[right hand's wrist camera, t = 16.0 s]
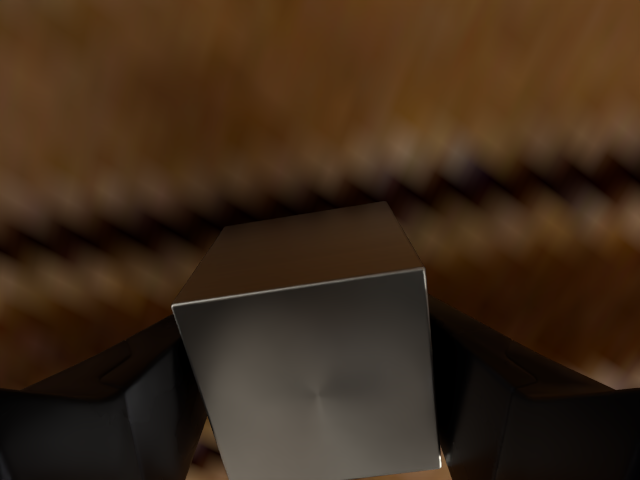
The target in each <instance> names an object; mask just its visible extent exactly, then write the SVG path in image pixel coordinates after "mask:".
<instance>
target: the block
mask: <svg viewBox="0 0 640 480" xmlns="http://www.w3.org/2000/svg"><path fill="white" fill-rule="evenodd" d="M171 307H172V310H173V313H174V316H175V319H176V322H177V325H178V328H179V331H180V334H181V337H182V340H183V343H184V346H185V349H186V352H187V355H188V358H189V361H190V365H191V368H192V371H193V374H194V377H195V380H196V383H197V386H198V389H199V392H200V395H201V398H202V401H203V404H204V407H205V410H206V413H207V416H208V419H209V422H210V425H211V428H212V431H213V434H214V437H215V440H216V443H217V446H218V449H219V452H220V455H221V458H222V461H223V464H224V467H225V470H226V473H227V476H228V479H229V480H349V479H357V478H366V477H374V476H382V475H391V474H399V473H407V472H416V471H424V470H432V469H439V468H441V465H442V463H441V451H440V438H439V426H438V414H437V402H436V390H435V377H434V365H433V353H432V341H431V329H430V316H429V304H428V292H427V280H426V269H425V267H424V265H423V264H422V262H421V260H420V258H419V257H418V255H417V253H416V251H415V250H414V248H413V246H412V245H411V243H410V241H409V239H408V238H407V236H406V234H405V233H404V231H403V229H402V227H401V226H400V224H399V222H398V221H397V219H396V217H395V215H394V214H393V212H392V210H391V209H390V207H389V205H388V203H387V202H386V201H383V202H376V203H370V204H364V205H357V206H351V207H345V208H339V209H332V210H326V211H320V212H313V213H307V214H301V215H294V216H288V217H282V218H276V219H269V220H263V221H257V222H250V223H244V224H238V225H231V226H226V227H224V229H223V230H222V231H221V233H220V234H219V236H218V237H217V239H216V240H215V242H214V243H213V245H212V246H211V248H210V249H209V250H208V252H207V253H206V255H205V256H204V258H203V259H202V261H201V262H200V264H199V265H198V266H197V268H196V269H195V271H194V272H193V274H192V275H191V277H190V278H189V280H188V281H187V283H186V284H185V285H184V287H183V288H182V290H181V291H180V293H179V294H178V296H177V297H176V299H175V300H174V301H173V303H172V306H171Z"/></svg>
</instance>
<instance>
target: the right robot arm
mask: <svg viewBox="0 0 640 480" xmlns="http://www.w3.org/2000/svg"><path fill="white" fill-rule="evenodd" d="M428 304H429V316H430V329H431V341H432V353H433V365H434V377H435V390H436V402H437V414H438V426H439V438H440V445H441V448H442V451H443V454H444V457H445V460H446V463H447V466H448V469H449V471H450V474H451V477H452V480H640V388H632V389H622V390H615V389H612V388H610V387H608V386H606V385H604V384H602V383H599V382H597V381H595V380H593V379H591V378H589V377H587V376H584V375H582V374H580V373H578V372H576V371H574V370H571V369H569V368H567V367H565V366H563V365H561V364H559V363H557V362H554V361H552V360H550V359H548V358H546V357H544V356H542V355H540V354H538V353H536V352H534V351H532V350H530V349H529V348H527V347H525V346H523V345H521V344H519V343H517V342H516V341H514V340H512V341H511V339H510V338H508V337H506V336H505V335H503V334H501V333H499V332H497V331H495V330H494V329H492V328H490V327H488V326H486V325H484V324H483V323H481V322H479V321H477V320H475V319H473V318H472V317H470V316H468V315H466V314H464V313H462V312H461V311H459V310H457V309H455V308H453V307H451V306H450V305H448V304H446V303H444V302H442V301H440V300H439V299H437V298H435V297H433V296H431V295H429V294H428ZM206 418H207V413H206V410H205V407H204V404H203V401H202V398H201V395H200V392H199V389H198V386H197V383H196V380H195V377H194V374H193V371H192V368H191V365H190V361H189V358H188V355H187V352H186V349H185V346H184V343H183V340H182V337H181V334H180V331H179V328H178V325H177V322H176V319H175V316H174V313H173V314H172V315H170V316H168V317H166V318H164V319H162V320H161V321H159V322H157V323H155V324H153V325H151V326H149V327H148V328H146V329H144V330H142V331H140V332H138V333H137V334H135V335H133V336H131V337H129V338H127V339H126V341H125V340H123V341H122V342H120V343H118V344H116V345H114V346H112V347H111V348H109V349H107V350H105V351H103V352H101V353H99V354H97V355H95V356H93V357H91V358H89V359H87V360H85V361H82V362H80V363H78V364H76V365H74V366H72V367H70V368H68V369H65V370H63V371H61V372H59V373H57V374H55V375H52V376H50V377H48V378H46V379H44V380H41V381H39V382H37V383H35V384H33V385H31V386H28V387H26V388H24V389H22V390H13V389H3V388H0V480H185V479H186V476H187V473H188V470H189V467H190V464H191V461H192V459H193V456H194V453H195V450H196V447H197V444H198V441H199V438H200V436H201V433H202V430H203V427H204V424H205V421H206Z"/></svg>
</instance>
